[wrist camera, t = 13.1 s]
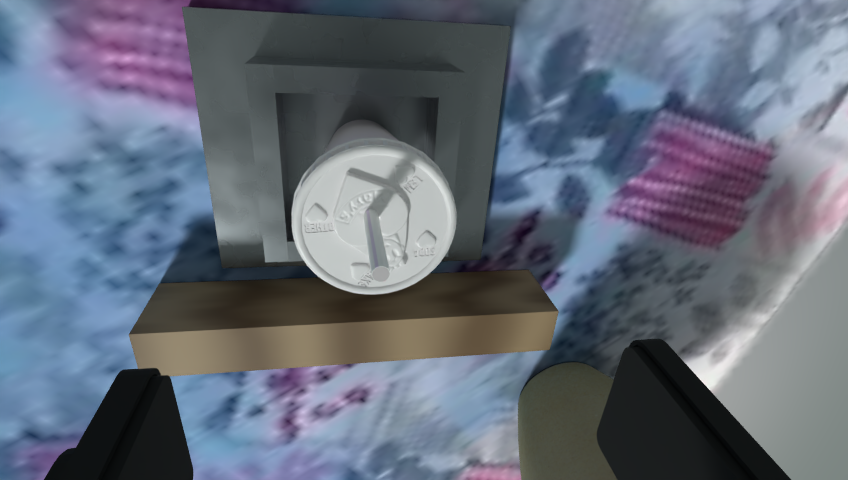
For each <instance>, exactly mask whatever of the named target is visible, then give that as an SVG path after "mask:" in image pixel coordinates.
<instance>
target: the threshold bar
mask: <svg viewBox="0 0 848 480" xmlns="http://www.w3.org/2000/svg"><path fill="white" fill-rule="evenodd" d="M557 316H558V310H557V308H556V307H555V306H554V304H553V303H552V301H551V300H550V299H549V297H548V296H547V294H546V293H545V292H544V290H543V289H542V287H541V286H540V285H539V283H538V282H537V280H536V279H535V278H534V276H533V275H532V273H531V272H530V271H529V270H507V271H480V272H453V273H429V274H428V275H427V276H426V277H424V278H423V279H421V280H420V281H418V282H417V283H415V284H413V285H411V286H409V287H406V288H404V289H401V290H398V291H395V292H390V293H384V294H358V293H353V292H349V291H345V290H342V289H339V288H337V287H335V286H333V285H331V284H329V283H327V282H325V281H324V280H322V279H321V278H320V277H319V278H292V279H265V280H238V281H211V282H184V283H159V285H158V287H157V288H156V290H155V292H154V293H153V295H152V297H151V298H150V300H149V302H148V303H147V305H146V307H145V308H144V310H143V312H142V313H141V315H140V317H139V318H138V320H137V322H136V323H135V325H134V327H133V328H132V330H131V332H130V333H129V337H130V341H131V344H132V348H133V351H134V355H135V359H136V362H137V366H138V369H145V368H157V369H158V370H159V371H160V373H161V375H168V376H181V375H195V374H210V373H224V372H238V371H253V370H267V369H281V368H296V367H310V366H325V365H339V364H353V363H368V362H382V361H396V360H411V359H425V358H440V357H454V356H468V355H483V354H497V353H511V352H526V351H540V350H550V346H551V342H552V338H553V333H554V329H555V325H556V320H557Z"/></svg>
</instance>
